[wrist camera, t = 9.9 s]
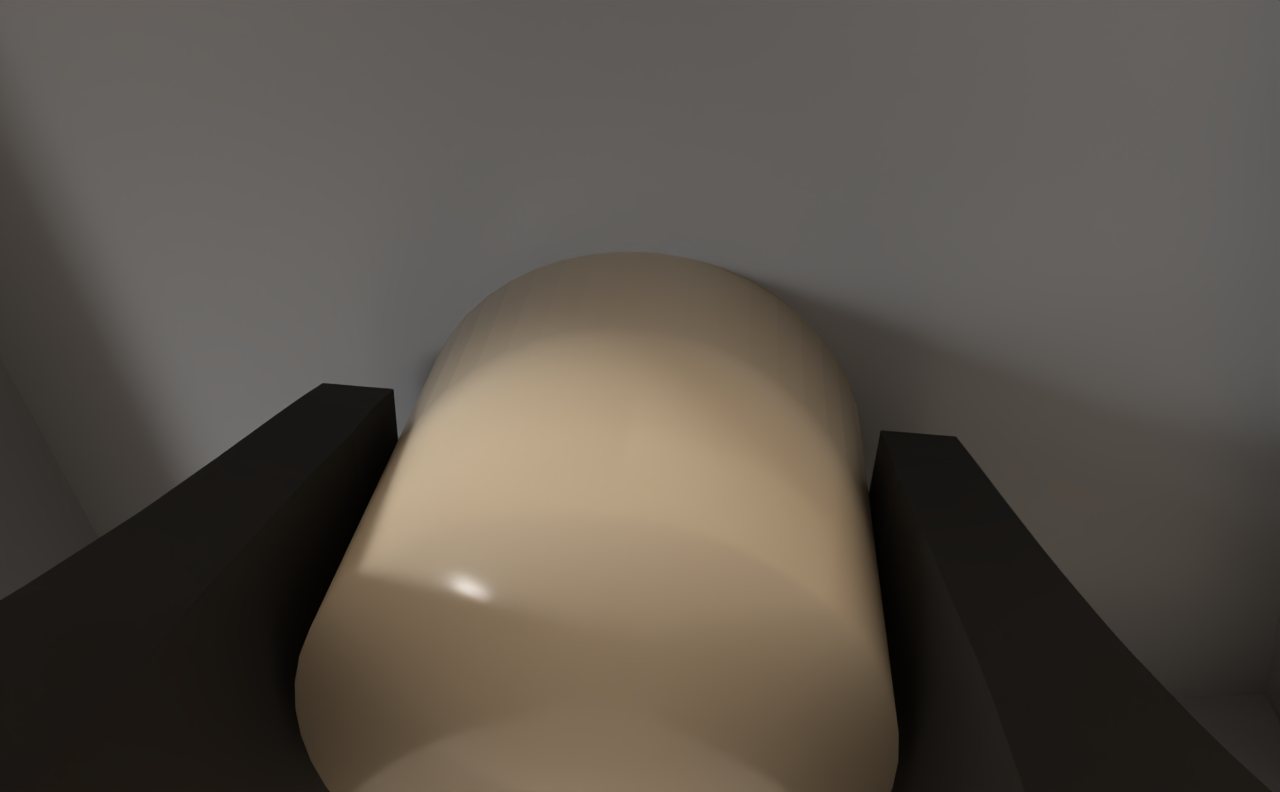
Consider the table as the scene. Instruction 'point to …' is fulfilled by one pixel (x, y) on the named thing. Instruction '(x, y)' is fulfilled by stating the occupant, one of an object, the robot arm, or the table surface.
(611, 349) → the beige rounded cylinder
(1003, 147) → the parts tray
